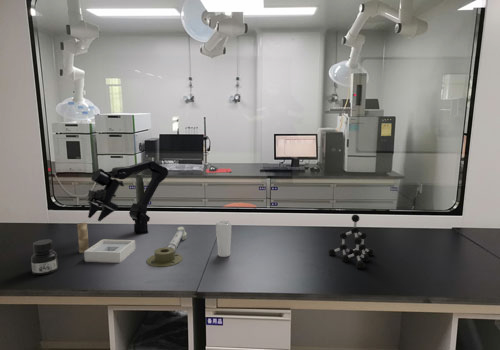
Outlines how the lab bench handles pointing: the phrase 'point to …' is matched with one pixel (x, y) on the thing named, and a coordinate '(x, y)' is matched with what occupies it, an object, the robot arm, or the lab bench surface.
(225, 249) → the drinking glass
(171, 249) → the flange
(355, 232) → the molecular model
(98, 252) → the box
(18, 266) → the lab bench surface
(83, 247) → the peg
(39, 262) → the ink bottle
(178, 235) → the light grey piece
